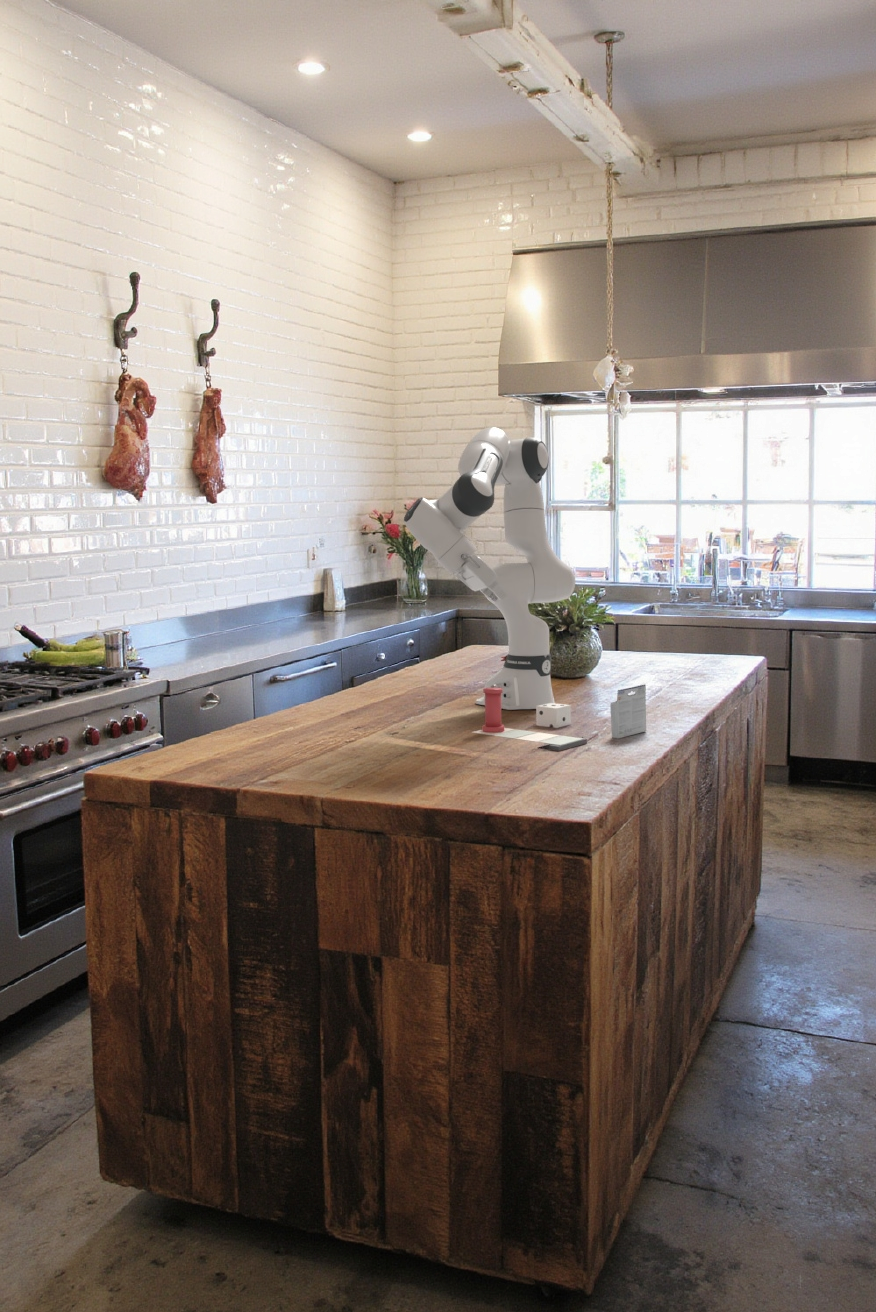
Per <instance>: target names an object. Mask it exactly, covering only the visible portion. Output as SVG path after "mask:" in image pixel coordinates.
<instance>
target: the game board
mask: <svg viewBox="0 0 876 1312" xmlns="http://www.w3.org/2000/svg"><path fill="white" fill-rule="evenodd" d="M471 733H474V734H480V735H487V736H493V737H501V738H507V739H512V740H513V739H515V740H522V741H526V742H527V741H529V742H533V743H535V742H536V743H537V742H538V743H542V744H545V745H542V746H537V747H536V749H541V750H549V751H555V752H556V751H557V752H561V751H564V750H568V749H571V748H575V747H578V746H582V745H586V744H588V739H587V738H583V737H576V736H575V737H574V736H566V735H560V734H551V733H547V732H545V733H544V732H539V731H538V732H537V731H531V730H525V729H524V730H523V729H516V728H508V727H504V731H503V732H499V733H488V732H483V731H482V729H479V730H476V731H475V730H474V731H471Z"/></svg>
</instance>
